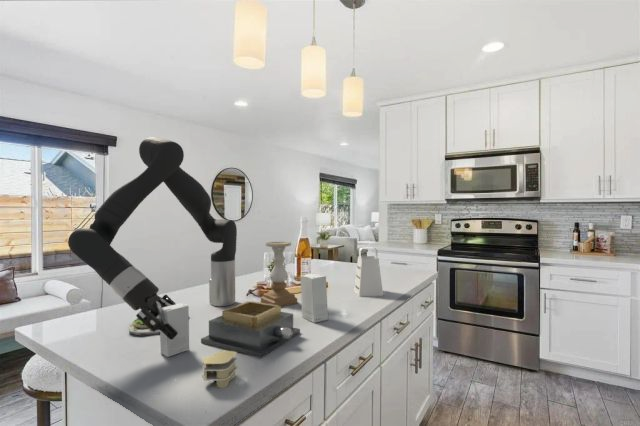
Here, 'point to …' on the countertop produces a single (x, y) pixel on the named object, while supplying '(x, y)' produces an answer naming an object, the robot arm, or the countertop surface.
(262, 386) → the countertop surface
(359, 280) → the grater
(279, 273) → the candle holder
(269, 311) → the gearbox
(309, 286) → the skincare box
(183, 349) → the skincare box
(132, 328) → the salad plate
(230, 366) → the tan layered stack
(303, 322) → the countertop surface
